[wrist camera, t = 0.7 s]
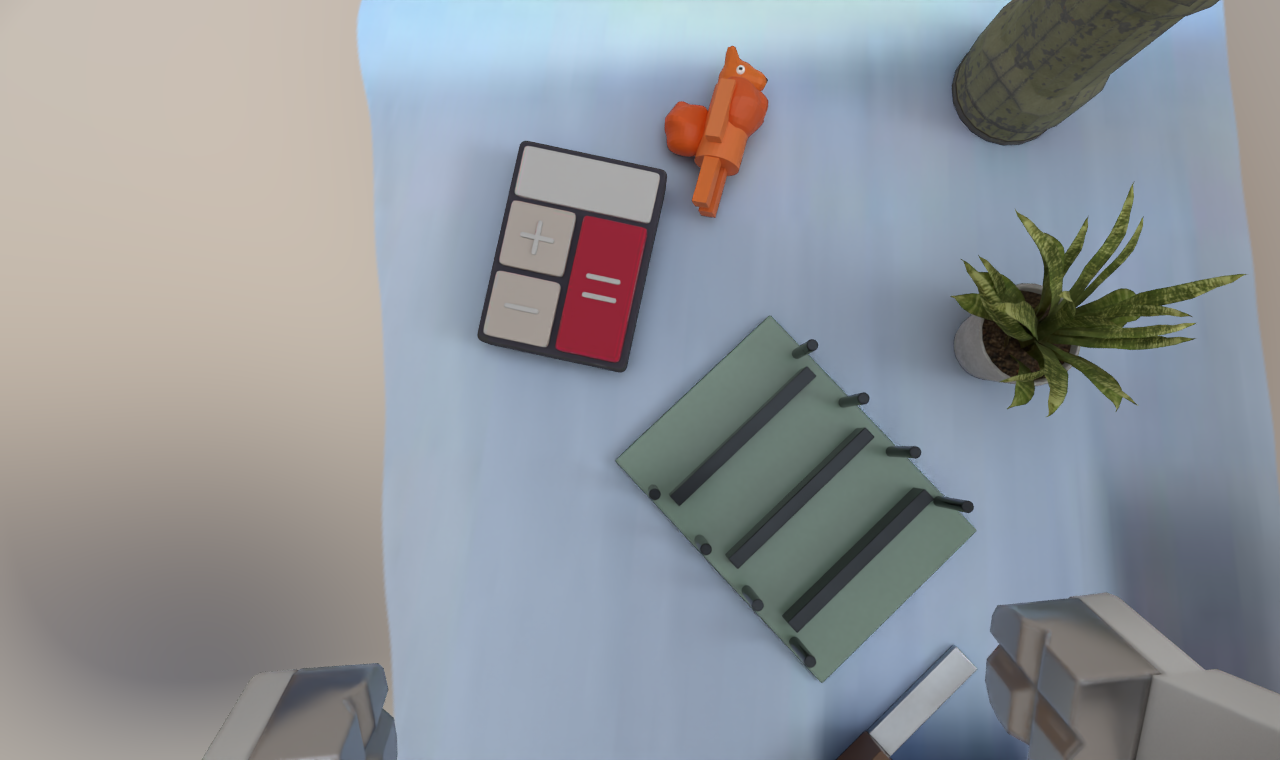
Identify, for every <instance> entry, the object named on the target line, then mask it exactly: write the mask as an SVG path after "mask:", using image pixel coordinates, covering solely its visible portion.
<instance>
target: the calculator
mask: <svg viewBox="0 0 1280 760" xmlns="http://www.w3.org/2000/svg"><path fill="white" fill-rule="evenodd" d="M666 179H667V174H666V172H665V171H664V170H661V169H657V168H653V167H648V166H643V165H638V164H634V163H629V162H624V161H620V160H615V159H610V158H605V157H601V156H596V155H591V154H587V153H582V152H577V151H572V150H568V149H563V148H558V147H554V146H549V145H544V144H539V143H535V142H530V141H523V142H522V143H521V144H520V147H519V151H518V155H517V160H516V164H515V169H514V173H513V178H512V182H511V187H510V191H509V196H508V200H507V204H506V209H505V213H504V218H503V222H502V227H501V231H500V236H499V240H498V245H497V249H496V253H495V258H494V262H493V267H492V271H491V276H490V280H489V285H488V289H487V294H486V298H485V303H484V307H483V311H482V316H481V320H480V325H479V329H478V338H479V340H481V341H483V342H485V343H488V344H491V345H495V346H500V347H504V348H509V349H514V350H518V351H523V352H528V353H532V354H537V355H541V356H546V357H551V358H555V359H560V360H565V361H569V362H574V363H578V364H583V365H588V366H592V367H597V368H602V369H606V370H611V371H616V372H623V371H625V370H626V367H627V364H628V359H629V354H630V350H631V345H632V341H633V336H634V331H635V327H636V322H637V317H638V313H639V308H640V304H641V299H642V294H643V290H644V285H645V281H646V276H647V271H648V267H649V262H650V258H651V253H652V248H653V244H654V239H655V235H656V231H657V226H658V222H659V217H660V213H661V208H662V204H663V199H664V194H665V189H666Z"/></svg>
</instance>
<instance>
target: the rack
mask: <svg viewBox="0 0 1280 760" xmlns="http://www.w3.org/2000/svg"><path fill="white" fill-rule="evenodd" d="M817 348H818V343H817V341H816V340H813V339H811V340H809V341H807V342H805V343H804V344H802V345H800V346H799V345H798V344H797V343H796V341H795V340H794V339H793V338H792V337H791V336H790V335H789V334H788V333H787V332H786V331H785V330H784V329H783V328H782V327H781V326H780V325H779V324H778V323H777V322H776V321H775V320H774V319H773V318H772V316H768V317H767V318H766V319H765V320H764V321H763V322H762V323H761V324H760V325H759V326H758V327H757V328H756V329H755V330H753V331H752V332H751V333H750V334H749V335H748V336H747V337H746V338H745V339H744V340H743V341H742V342H741V343H740V344H739V345H738V346H736V347H735V348H734V349H733V350H732V351H731V352H730V353H729V354H728V355H727V356H726V357H725V358H724V359H723V360H722V361H720V362H719V363H718V364H717V365H716V366H715V367H714V368H713V369H712V370H711V371H710V372H709V373H708V374H707V375H706V376H704V377H703V378H702V379H701V380H700V381H699V382H698V383H697V384H696V385H695V386H694V387H693V388H692V389H691V390H690V391H689V392H687V393H686V394H685V395H684V396H683V397H682V398H681V399H680V400H679V401H678V402H677V403H676V404H675V405H674V406H673V407H671V408H670V409H669V410H668V411H667V412H666V413H665V414H664V415H663V416H662V417H661V418H660V419H659V420H658V421H657V422H655V423H654V424H653V425H652V426H651V427H650V428H649V429H648V430H647V431H646V432H645V433H644V434H643V435H642V436H641V437H639V438H638V439H637V440H636V441H635V442H634V443H633V444H632V445H631V446H630V447H629V448H628V449H627V450H626V451H625V452H624V453H622V454H621V455H620V456H619V457H618V458H617V459H616V460H615V461H616V462H617V463H618V465H619V466H620V467H621V468H622V469H623V470H624V471H625V472H626V473H627V474H628V475H629V476H630V477H631V479H632V480H633V481H634V482H635V483H636V484H637V485H638V486H639V487H640V488H641V489H642V490H643V491H644V493H645V494H646V495H647V496H648V497H649V498H650V499H651V500H652V501H653V502H654V503H655V504H656V505H657V507H658V508H659V509H660V510H661V511H662V512H663V513H664V514H665V515H666V516H667V517H668V518H669V519H670V521H671V522H672V523H673V524H674V525H675V526H676V527H677V528H678V529H679V530H680V531H681V532H682V533H683V535H684V536H685V537H686V538H687V539H688V540H689V541H690V542H691V543H692V544H693V545H694V546H695V547H696V549H697V550H698V551H699V552H700V553H701V554H702V555H703V556H704V557H705V558H706V559H707V560H708V561H709V563H710V564H711V565H712V566H713V567H714V568H715V569H716V570H717V571H718V572H719V573H720V574H721V575H722V577H723V578H724V579H725V580H726V581H727V582H728V583H729V584H730V585H731V586H732V587H733V588H734V589H735V591H736V592H737V593H738V594H739V595H740V596H741V597H742V598H743V599H744V600H745V601H746V602H747V603H748V605H749V606H750V607H751V608H752V609H753V610H754V611H755V612H756V613H757V614H758V615H759V616H760V617H761V619H762V620H763V621H764V622H765V623H766V624H767V625H768V626H769V627H770V628H771V629H772V630H773V631H774V633H775V634H776V635H777V636H778V637H779V638H780V639H781V640H782V641H783V642H784V643H785V644H786V646H787V647H788V648H789V649H790V650H791V651H792V652H793V653H794V654H795V655H796V656H797V657H798V658H799V660H800V661H801V662H802V663H803V664H804V665H805V666H806V667H807V668H808V669H809V670H810V671H811V672H812V674H813V675H814V676H815V677H816V678H817V679H818V680H819V681H820V682H821V683H823V682H824V681H825V680H826V679H827V678H828V677H829V676H830V675H831V674H832V673H833V672H834V671H835V670H836V669H837V668H838V667H839V666H840V665H841V664H842V663H843V662H844V661H845V660H846V659H847V658H848V657H849V656H850V655H851V654H852V653H853V652H854V651H855V650H856V649H857V648H858V647H859V646H860V645H861V644H862V643H863V642H864V641H865V640H866V639H867V638H868V637H870V636H871V635H872V634H873V633H874V632H875V631H876V630H877V629H878V628H879V627H880V626H881V625H882V624H883V623H884V622H885V621H886V620H887V619H888V618H889V617H890V616H891V615H892V614H893V613H894V612H895V611H896V610H897V609H898V608H899V607H900V606H901V605H902V604H903V603H904V602H905V601H906V600H907V599H908V598H909V597H910V596H911V595H912V594H913V593H914V592H915V591H916V590H917V589H918V588H919V587H920V586H921V585H922V584H923V583H924V582H925V581H926V580H927V579H928V578H929V577H930V576H931V575H932V574H933V573H934V572H935V571H936V570H937V569H938V568H939V567H940V566H941V565H942V564H943V563H944V562H945V561H946V560H948V559H949V558H950V557H951V556H952V555H953V554H954V553H955V552H956V551H957V550H958V549H959V548H960V547H961V546H962V545H963V544H964V543H965V542H966V541H967V540H968V539H969V538H970V537H971V536H972V535H973V534H974V533H975V532H976V529H975V528H974V527H973V526H972V525H971V524H970V523H969V522H968V521H967V520H966V519H965V518H964V517H963V515H962V514H961V513H960V512H959V511H961V512H966V513H970V512H972V511H973V508H974V506H973V503H972V502H970V501H966V500H960V499H955V498H949V497H944V496H943V495H942V494H941V493H940V492H939V490H938V489H937V488H936V487H935V486H934V485H933V484H932V483H931V482H930V481H929V480H928V479H927V478H926V477H925V476H924V475H923V474H922V473H921V472H920V471H919V470H918V469H917V468H916V467H915V465H914V464H913V463H912V462H911V461H910V460H909V459H908V458H918V457H919V456H920V455H921V450H920V448H919V447H916V446H895V445H894V444H893V443H892V441H891V440H890V439H889V438H888V437H887V436H886V435H885V434H884V433H883V432H882V431H881V430H880V429H879V428H878V427H877V426H876V425H875V424H874V423H873V422H872V421H871V420H870V419H869V418H868V416H867V415H866V414H865V413H864V412H863V411H862V410H861V409H860V408H859V407H858V406H857V405H863V404H867V403H868V402H869V396H868V394H866V393H859V394H854V395H850V396H847V395H846V394H845V393H844V391H843V390H842V389H841V388H840V387H839V386H838V385H837V384H836V383H835V382H834V381H833V380H832V379H831V378H830V377H829V376H828V375H827V374H826V373H825V372H824V371H823V370H822V369H821V368H820V366H819V365H818V364H817V363H816V362H815V361H814V360H813V359H812V358H811V357H810V356H809V355H808V354H809V353H811V352H813V351H815V350H816V349H817Z"/></svg>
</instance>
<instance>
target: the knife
mask: <svg viewBox="0 0 1280 760" xmlns="http://www.w3.org/2000/svg"><path fill="white" fill-rule="evenodd" d="M976 670H977V668H976V667H975V666H974V665H973V664H972V662H971V661H970V660H969V659H968V658H967V657H966V656H965V655H964V654H963V653H962V652H961V651H960V650H959V649H958V648H957V647H956V646H954V645H953V646H952V647H951V648H950V649H949V650H948V651H947V652H946V653H945V654H944V655H943V656H942V657H941V658H940V659H939V660H938V661H937V662H936V663H935V664H934V665H933V666H932V667H931V668H930V669H929V670H928V671H927V672H926V673H925V674H924V675H923V676H922V677H921V678H920V679H919V680H918V681H916V682H915V683H914V684H913V685H912V686H911V687H910V688H909V689H908V690H907V691H906V692H905V693H904V694H903V695H902V696H901V697H900V698H899V699H898V700H897V701H896V702H895V703H894V704H893V705H892V706H891V707H890V708H889V709H888V710H887V711H886V712H885V713H884V714H883V715H882V716H881V717H880V718H879V719H878V720H877V721H876V722H875V723H874V724H873V725H872V726H871V727H870V728H869V729H868V730H867V731H865V732H864V733H863V734H862V735H861V736H860V737H859V738H858V739H857V740H856V741H855V742H854V743H853V744H852V745H851V746H850V747H849V748H848V749H847V750H846V751H845V752H844V753H843V754H842V755H841V756H840V757H839V758H838V759H837V760H892V759H891V758H890V756H891V755H892V754H893V753H894V752H895V751H896V750H897V749H898V748H899V747H900V746H901V745H902V744H903V743H904V742H905V741H906V740H907V739H908V738H909V737H910V736H911V735H912V734H913V733H914V732H915V731H916V730H917V729H918V728H919V727H920V726H921V725H922V724H923V723H924V722H925V721H926V720H927V719H928V718H929V717H930V716H931V715H932V714H933V713H934V712H935V711H936V710H937V709H938V708H939V707H940V706H941V705H942V704H943V703H944V702H945V701H946V700H947V699H948V698H949V697H950V696H951V695H952V694H953V693H954V692H955V691H956V690H957V689H958V688H959V687H960V686H961V685H962V684H963V683H964V682H965V681H966V680H967V679H968V678H969V677H970V676H971V675H972V674H973V673H974V672H975V671H976Z"/></svg>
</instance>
